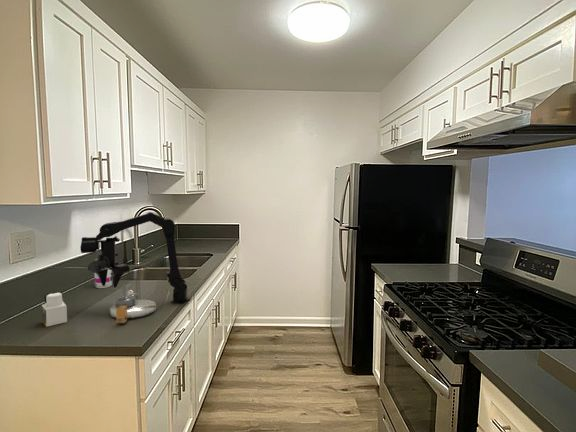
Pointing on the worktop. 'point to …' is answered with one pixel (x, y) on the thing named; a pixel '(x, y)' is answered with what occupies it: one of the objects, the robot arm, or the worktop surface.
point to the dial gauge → (132, 294)
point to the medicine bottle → (54, 309)
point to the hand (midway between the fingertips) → (109, 286)
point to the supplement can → (108, 280)
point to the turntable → (133, 310)
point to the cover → (125, 301)
